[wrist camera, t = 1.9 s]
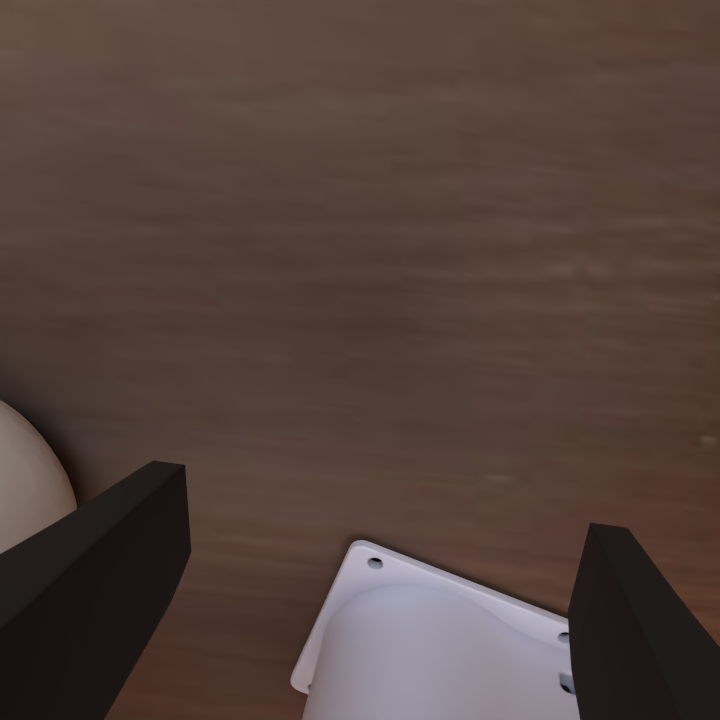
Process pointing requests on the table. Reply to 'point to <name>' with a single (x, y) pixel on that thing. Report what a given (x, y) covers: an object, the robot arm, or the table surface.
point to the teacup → (28, 481)
